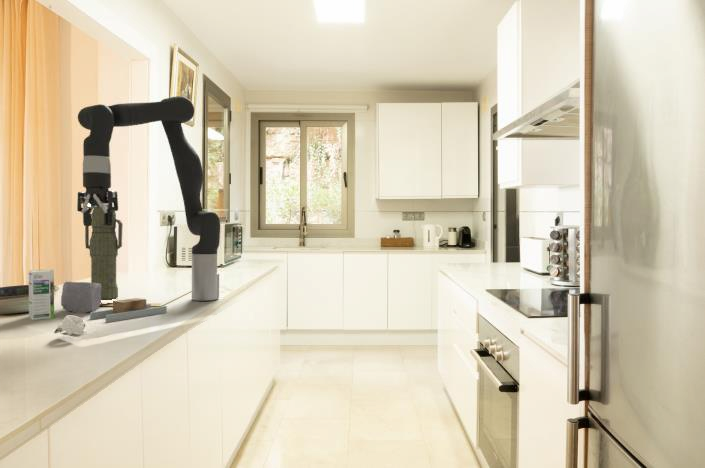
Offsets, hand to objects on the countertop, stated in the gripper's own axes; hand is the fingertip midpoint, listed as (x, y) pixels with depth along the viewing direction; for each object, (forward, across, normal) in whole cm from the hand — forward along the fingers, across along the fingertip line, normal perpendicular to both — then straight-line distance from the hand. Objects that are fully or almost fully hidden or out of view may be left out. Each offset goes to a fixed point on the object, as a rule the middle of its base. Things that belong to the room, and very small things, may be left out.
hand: (97, 225), depth 147 cm
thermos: (+28, +19, -18) cm, 39 cm away
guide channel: (+28, -6, -6) cm, 29 cm away
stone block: (+28, +13, -4) cm, 31 cm away
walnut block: (+28, -6, -6) cm, 29 cm away
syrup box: (+28, +14, +8) cm, 32 cm away
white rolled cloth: (+28, -13, +19) cm, 36 cm away
